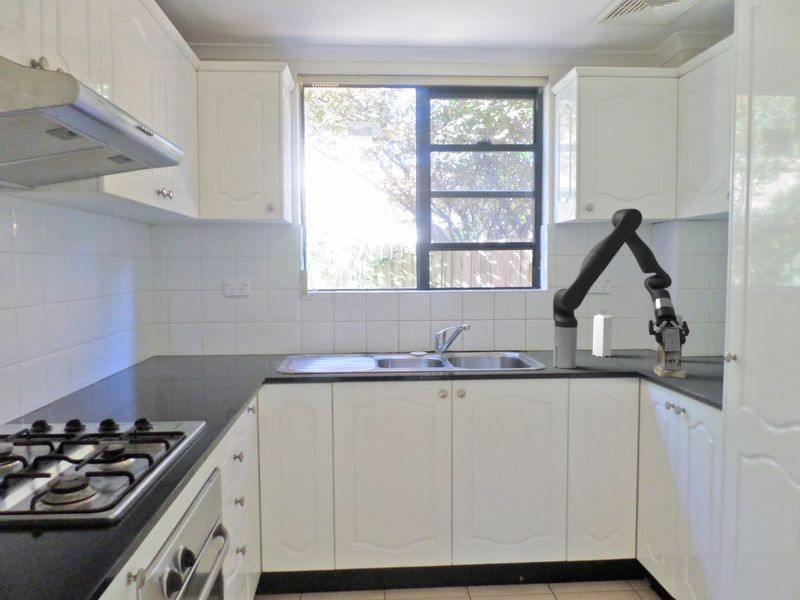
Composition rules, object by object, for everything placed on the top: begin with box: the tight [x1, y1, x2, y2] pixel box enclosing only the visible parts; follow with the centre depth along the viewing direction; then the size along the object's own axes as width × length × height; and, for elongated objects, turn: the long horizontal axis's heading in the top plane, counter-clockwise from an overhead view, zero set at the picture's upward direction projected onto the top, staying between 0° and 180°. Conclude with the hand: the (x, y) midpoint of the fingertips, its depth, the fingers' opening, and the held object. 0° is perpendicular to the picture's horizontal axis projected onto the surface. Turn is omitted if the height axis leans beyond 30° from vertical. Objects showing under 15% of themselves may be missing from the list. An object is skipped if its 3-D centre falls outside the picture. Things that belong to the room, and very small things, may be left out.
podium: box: [653, 365, 687, 379], centre depth 202 cm, size 9×9×3 cm
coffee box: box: [657, 327, 683, 370], centre depth 202 cm, size 9×6×16 cm
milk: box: [592, 309, 613, 358], centre depth 243 cm, size 6×6×22 cm
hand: (671, 342), depth 200 cm, fingers open, 8 cm apart
